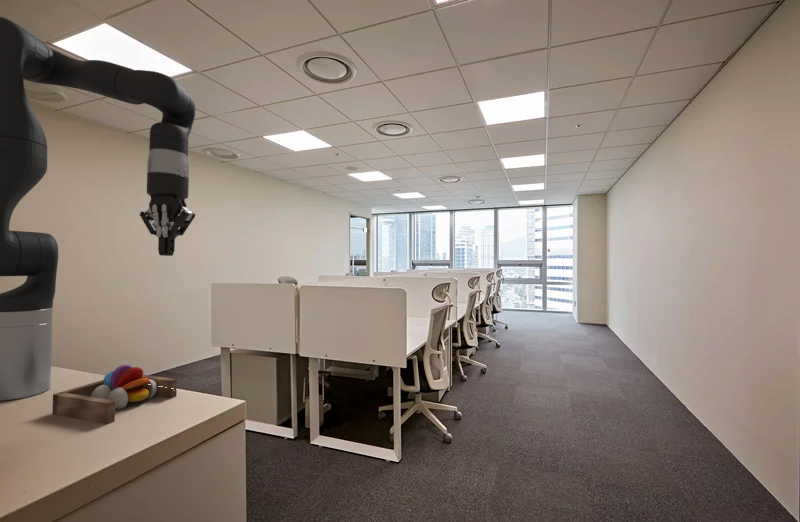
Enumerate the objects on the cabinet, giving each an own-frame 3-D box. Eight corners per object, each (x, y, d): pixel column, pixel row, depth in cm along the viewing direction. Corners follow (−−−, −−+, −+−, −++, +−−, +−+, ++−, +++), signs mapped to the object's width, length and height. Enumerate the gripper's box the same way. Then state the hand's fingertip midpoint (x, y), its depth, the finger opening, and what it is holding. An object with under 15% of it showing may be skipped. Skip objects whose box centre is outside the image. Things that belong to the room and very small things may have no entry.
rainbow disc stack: (121, 414, 65) (122, 374, 65) (83, 407, 68) (84, 368, 68) (163, 398, 74) (164, 362, 74) (128, 392, 76) (129, 357, 76)
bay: (52, 413, 65) (53, 394, 65) (127, 388, 78) (128, 372, 78) (107, 424, 61) (107, 403, 61) (176, 396, 74) (176, 379, 74)
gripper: (127, 171, 75) (125, 254, 75) (178, 168, 72) (175, 255, 72) (160, 180, 82) (158, 255, 82) (207, 177, 79) (205, 256, 79)
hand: (166, 255), depth 77 cm, fingers closed
